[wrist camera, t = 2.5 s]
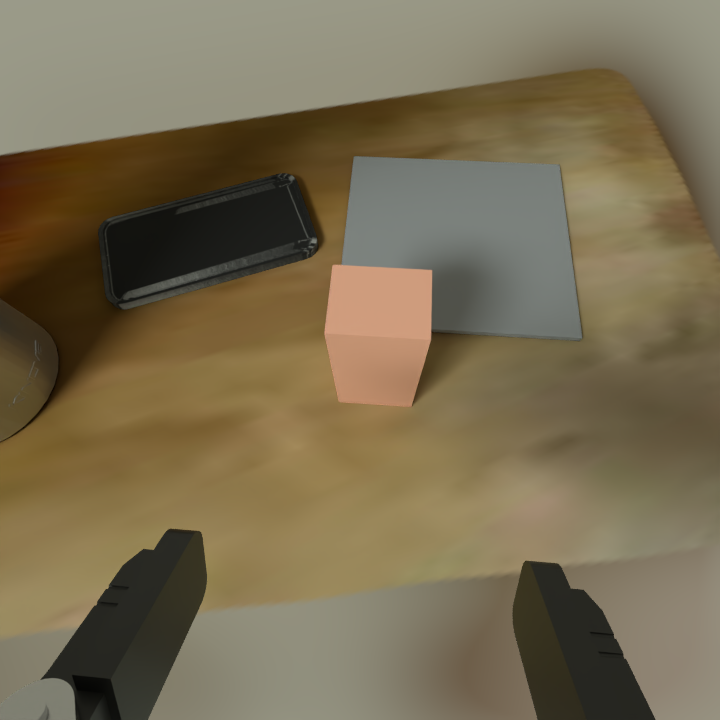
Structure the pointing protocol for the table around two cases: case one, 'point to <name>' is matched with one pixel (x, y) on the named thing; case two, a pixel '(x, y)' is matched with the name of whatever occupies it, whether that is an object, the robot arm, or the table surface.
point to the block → (378, 332)
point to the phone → (204, 240)
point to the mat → (470, 241)
